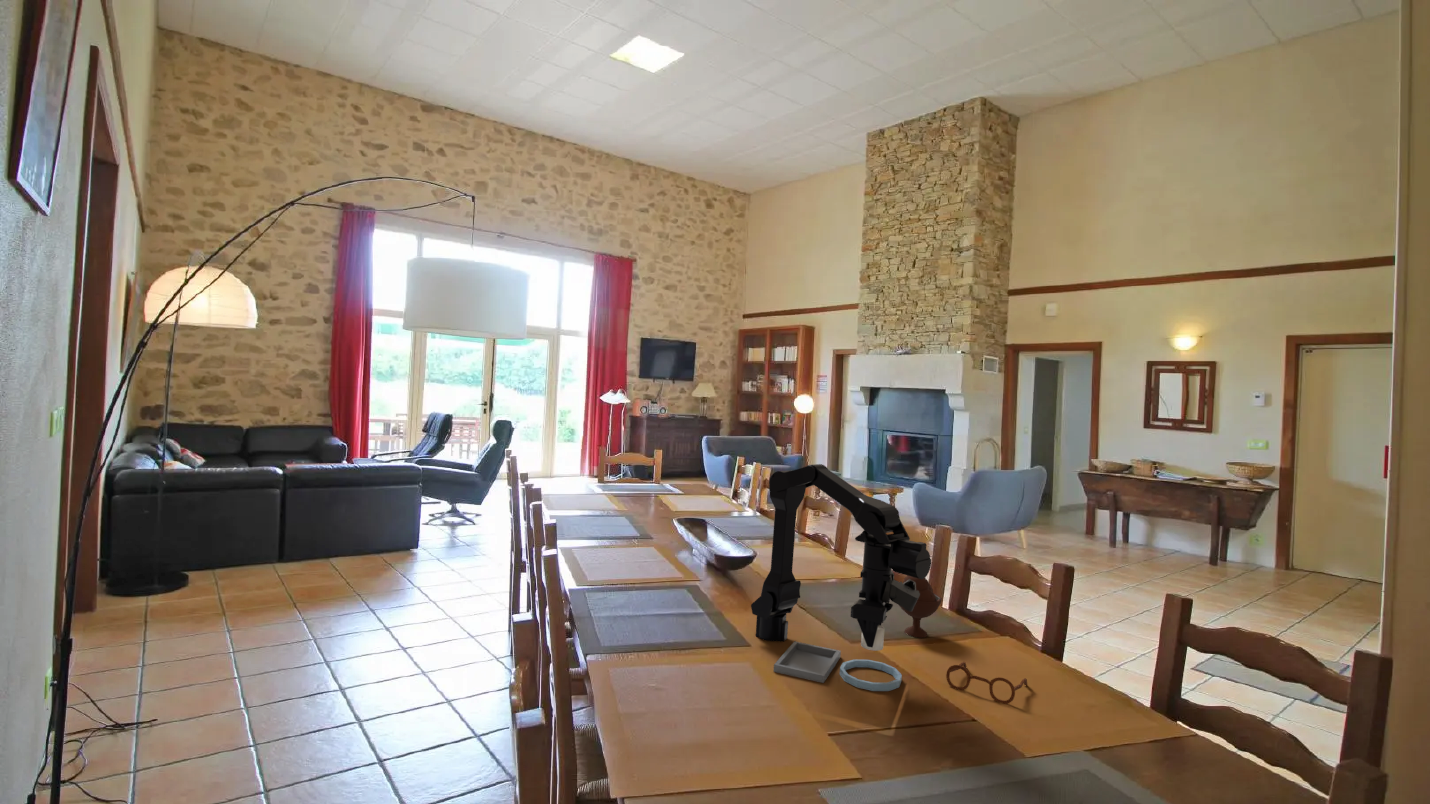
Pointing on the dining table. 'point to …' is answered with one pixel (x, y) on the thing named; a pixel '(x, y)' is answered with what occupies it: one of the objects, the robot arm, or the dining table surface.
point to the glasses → (969, 677)
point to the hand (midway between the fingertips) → (872, 643)
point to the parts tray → (807, 661)
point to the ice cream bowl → (921, 606)
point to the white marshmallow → (878, 640)
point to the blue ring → (866, 684)
